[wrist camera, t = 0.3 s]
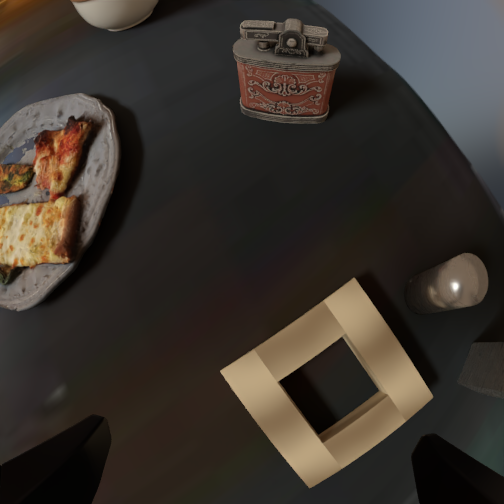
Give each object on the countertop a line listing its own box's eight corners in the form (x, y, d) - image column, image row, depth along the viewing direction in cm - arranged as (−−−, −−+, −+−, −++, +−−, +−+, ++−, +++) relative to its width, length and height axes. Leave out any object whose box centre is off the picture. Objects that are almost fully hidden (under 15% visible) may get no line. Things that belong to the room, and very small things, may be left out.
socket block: (421, 392, 21) (433, 396, 19) (306, 477, 20) (309, 488, 18) (347, 282, 23) (354, 277, 21) (224, 367, 22) (219, 371, 20)
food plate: (154, 93, 29) (142, 71, 25) (100, 331, 23) (76, 330, 20) (2, 122, 31) (-12, 110, 28) (-46, 288, 26) (-66, 283, 22)
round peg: (444, 298, 22) (495, 284, 16) (418, 322, 22) (467, 316, 15) (423, 266, 23) (470, 243, 16) (396, 290, 23) (440, 273, 16)
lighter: (327, 100, 27) (344, 19, 18) (327, 128, 27) (347, 44, 17) (243, 92, 28) (234, 9, 18) (238, 118, 27) (225, 34, 18)
